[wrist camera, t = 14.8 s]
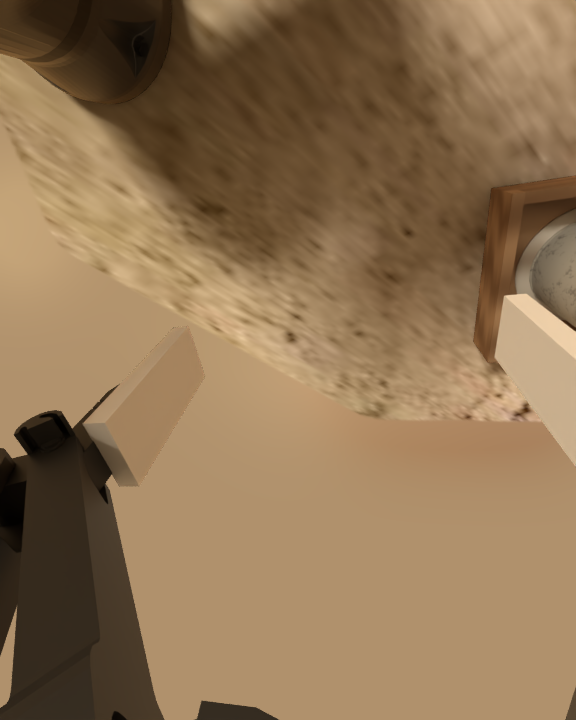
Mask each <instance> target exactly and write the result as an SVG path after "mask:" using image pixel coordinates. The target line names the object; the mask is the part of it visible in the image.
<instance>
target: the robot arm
mask: <svg viewBox="0 0 576 720" xmlns="http://www.w3.org/2000/svg"><path fill="white" fill-rule="evenodd" d="M170 31H171V0H0V54H4V55H7V56H11V57H15V58H18V59H21V60H22V61H23V62H25V63H26V64H27V65H29V66H30V67H32V68H33V69H34V70H35V71H36V72H37V73H38V74H40V75H41V76H42V77H43V78H44V79H46V80H47V81H48V82H50V83H51V84H52V85H54V86H55V87H57V88H58V89H60V90H62V91H63V92H65V93H67V94H69V95H72V96H74V97H77V98H79V99H83V100H87V101H92V102H97V103H103V104H117V103H122V102H126V101H128V100H131V99H133V98H135V97H136V96H138V95H139V94H141V93H142V92H143V91H144V90H145V89H146V88H147V87H148V86H149V85H150V84H151V83H152V82H153V80H154V79H155V77H156V76H157V74H158V72H159V70H160V68H161V66H162V64H163V61H164V59H165V56H166V52H167V48H168V44H169V39H170ZM495 359H496V360H497V361H498V363H499V364H500V365H501V367H502V368H503V370H504V371H505V372H506V374H507V375H508V376H509V378H510V379H511V380H512V382H513V383H514V384H515V386H516V387H517V388H518V390H519V391H520V392H521V394H522V395H523V396H524V398H525V399H526V401H527V402H528V403H529V405H530V406H531V407H532V409H533V410H534V411H535V413H536V414H537V415H538V417H539V418H540V419H541V421H542V422H543V423H544V425H545V426H546V427H547V429H548V430H549V431H550V433H551V434H552V436H553V437H554V438H555V440H556V441H557V442H558V444H559V445H560V446H561V448H562V449H563V450H564V452H565V453H566V454H567V456H568V457H569V458H570V460H571V461H572V462H573V464H574V465H575V466H576V332H575V331H574V330H573V329H571V328H570V327H569V326H567V325H566V324H565V323H564V322H562V321H561V320H560V319H558V318H557V317H556V316H555V315H553V314H552V313H551V312H549V311H548V310H547V309H545V308H544V307H543V306H542V305H540V304H539V303H538V302H536V301H535V300H534V299H533V298H531V297H530V296H529V295H527V294H517V295H506V296H504V299H503V306H502V312H501V319H500V325H499V332H498V338H497V344H496V351H495ZM204 378H205V374H204V371H203V368H202V365H201V362H200V359H199V356H198V353H197V350H196V347H195V344H194V341H193V338H192V335H191V332H190V329H189V327H188V326H186V327H175V328H173V329H172V330H171V331H170V332H169V333H168V334H167V335H166V336H165V337H164V338H163V339H162V340H161V341H160V343H158V344H157V345H156V347H155V348H154V349H153V350H152V351H151V352H150V353H149V354H148V355H147V356H146V357H145V358H144V359H143V360H142V361H141V363H139V365H138V366H137V367H136V368H135V369H134V370H133V371H132V372H131V373H130V374H129V375H128V376H127V377H126V378H125V379H124V380H123V382H122V383H121V384H119V385H117V386H116V387H114V388H113V389H111V390H110V391H108V392H107V393H106V394H105V395H104V396H103V397H102V399H101V400H100V402H98V403H97V404H96V405H95V406H94V407H93V409H91V410H90V411H89V412H88V413H87V414H86V415H85V416H84V417H83V418H82V419H81V420H80V421H79V422H78V423H77V424H76V425H75V426H74V428H73V429H72V428H71V426H70V425H69V423H68V421H67V420H66V418H65V417H64V415H63V413H62V412H61V411H57V410H54V411H48V412H44V413H41V414H39V415H37V416H35V417H32V418H30V419H29V420H27V421H26V422H24V423H23V424H22V425H21V426H20V427H18V429H16V431H15V434H14V436H15V437H16V439H17V440H18V441H19V443H20V444H21V446H22V447H23V448H24V450H25V451H26V452H27V454H28V455H24V456H21V457H16V458H13V459H12V458H11V457H10V455H9V454H8V453H7V452H6V450H5V449H3V448H0V655H1V652H2V649H3V646H4V643H5V640H6V637H7V634H8V631H9V627H10V625H11V622H12V619H13V616H14V612H15V609H16V607H17V619H16V631H15V645H14V658H13V672H12V686H11V693H10V698H9V701H8V702H7V704H6V705H4V706H3V707H1V708H0V720H164V718H163V715H162V713H161V711H160V709H159V707H158V704H157V701H156V698H155V695H154V691H153V687H152V682H151V677H150V673H149V668H148V664H147V659H146V654H145V650H144V645H143V641H142V636H141V631H140V627H139V622H138V618H137V613H136V608H135V604H134V600H133V595H132V590H131V586H130V581H129V577H128V572H127V567H126V563H125V558H124V554H123V549H122V544H121V540H120V535H119V531H118V527H117V522H116V517H115V513H114V508H113V503H112V499H111V494H110V490H109V489H108V487H107V485H106V484H105V483H106V481H107V480H108V479H109V477H110V476H111V474H112V475H113V477H114V479H115V480H116V482H117V483H118V485H119V486H140V484H141V483H142V481H143V479H144V478H145V476H146V474H147V473H148V471H149V469H150V468H151V466H152V464H153V463H154V461H155V459H156V458H157V456H158V454H159V453H160V451H161V449H162V448H163V446H164V444H165V443H166V441H167V439H168V438H169V436H170V434H171V433H172V431H173V429H174V428H175V426H176V424H177V423H178V421H179V419H180V417H181V416H182V414H183V413H184V411H185V409H186V408H187V406H188V404H189V403H190V401H191V399H192V398H193V396H194V394H195V392H196V391H197V389H198V388H199V386H200V384H201V383H202V381H203V379H204ZM195 720H278V719H277V718H275V717H273V716H271V715H269V714H267V713H265V712H263V711H262V710H260V709H258V708H256V707H247V706H240V705H232V704H224V703H216V702H208V701H202V702H201V705H200V709H199V713H198V718H197V719H195ZM566 720H576V688H575V692H574V695H573V697H572V701H571V704H570V707H569V710H568V713H567V716H566Z"/></svg>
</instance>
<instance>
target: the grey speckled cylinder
mask: <svg viewBox="0 0 576 720" xmlns="http://www.w3.org/2000/svg"><path fill="white" fill-rule="evenodd" d="M529 282H530V287H531V290H532V292H533V294H534V296H535V297H536V298H537V299H538V300H539V301H540V302H541V303H542V304H544V305H546V306H548V307H549V308H550V309H552V310H553V311H554V312H556V313H557V314H558V315H560V316H561V317H562V318H564V319H565V320H566V321H568V322H569V323H570V324H572V325H573V326H574V327H576V222H574V223H572V224H569V225H568V226H566V227H564V228H563V229H561V230H560V231H558V232H557V233H556V234H554V235H553V236H552V237H551V238H550V239H549V240H547V242H546V243H545V244H544V245H543V246H542V248H541V249H540V250H539V251H538V253H537V255H536V257H535V259H534V260H533V263H532V266H531V269H530V277H529Z"/></svg>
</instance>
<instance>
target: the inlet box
mask: <svg viewBox="0 0 576 720" xmlns="http://www.w3.org/2000/svg"><path fill="white" fill-rule="evenodd" d="M574 222H576V176H570V177H563V178H557V179H550V180H543V181H537V182H530V183H524V184H517V185H510V186H504V187H497V188H492V189H491V197H490V205H489V214H488V222H487V231H486V239H485V248H484V256H483V265H482V273H481V281H480V290H479V298H478V307H477V315H476V324H475V332H474V341H473V342H474V343H475V344H476V346H477V347H478V349H479V350H480V352H481V353H482V354H483V356H484V357H485V359H486V360H487V362H488V363H490V362H498V361H497V360H496V359H495V351H496V344H497V338H498V332H499V325H500V319H501V312H502V306H503V299H504V296H506V295H517V294H527V295H529V296H530V297H531V298H533V299H534V300H535V301H536V302H538V303H539V304H540V305H542V306H543V307H544V308H545V309H547V310H548V311H549V312H551V313H552V314H553V315H555V316H556V317H557V318H558V319H560V320H561V321H562V322H564V323H565V324H566V325H567V326H569V327H570V328H571V329H573V330H574V331H575V332H576V327H574V326H573V325H572V324H570V323H569V322H568V321H566V320H565V319H564V318H562V317H561V316H560V315H558V314H557V313H556V312H554V311H553V310H552V309H550V308H549V307H548V306H546V305H544V304H542V303H541V302H540V301H539V300H538V299H537V298H536V297H535V296H534V294H533V292H532V290H531V287H530V282H529V277H530V269H531V266H532V263H533V260H534V259H535V257H536V255H537V253H538V251H539V250H540V249H541V248H542V246H543V245H544V244H545V243H546V242H547V240H549V239H550V238H551V237H552V236H553V235H554V234H556V233H557V232H558V231H560V230H561V229H563V228H564V227H566V226H568V225H569V224H572V223H574Z"/></svg>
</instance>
